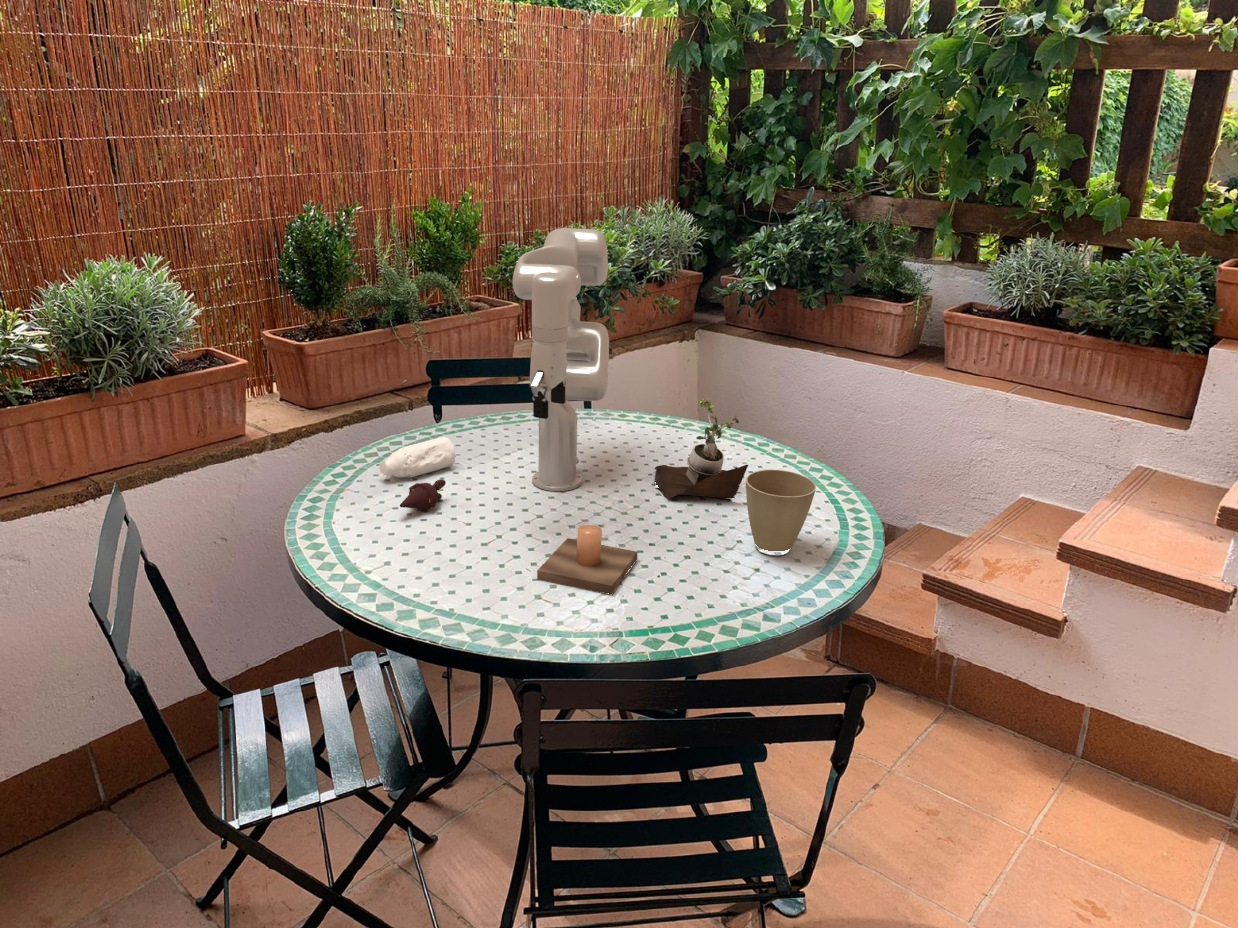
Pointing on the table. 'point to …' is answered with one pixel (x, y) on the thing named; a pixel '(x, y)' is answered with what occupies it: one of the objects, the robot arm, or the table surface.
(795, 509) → the plant pot
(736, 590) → the table surface
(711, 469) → the potted plant
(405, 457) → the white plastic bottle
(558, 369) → the robot arm
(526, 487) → the table surface
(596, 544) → the terracotta cylinder
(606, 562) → the walnut board
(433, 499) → the dark brown tapered piece
